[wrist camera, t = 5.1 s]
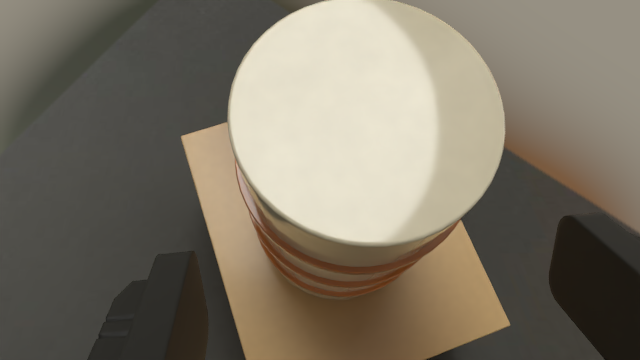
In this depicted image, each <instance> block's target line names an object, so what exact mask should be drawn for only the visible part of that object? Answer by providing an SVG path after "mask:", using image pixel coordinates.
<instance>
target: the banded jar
mask: <svg viewBox="0 0 640 360" xmlns="http://www.w3.org/2000/svg"><path fill="white" fill-rule="evenodd" d="M227 121H228V131H229V138H230V142H231V146H232V150H233V153H234V156H235V169H236V177H237V181H238V185H239V189H240V192H241V194H242V197H243V199H244V202H245V204H246V207H247V209H248V211H249V215H250V218H251V220H252V223H253V225H254V228H255V230H256V232H257V236H258V239H259V241H260V244H261V246H262V248H263V250H264V252H265V254H266V255H267V257H268V259H269V260H270V261H271V262H272V264H273V265H274V266H275V267H276V268H277V270H278V271H279V272H280V274H281V275H282V276H283V277H284V278H285V279H286V280H287V281H288V282H290V283H291V284H292V285H294V286H295V287H296V288H298V289H300V290H302V291H303V292H305V293H308V294H310V295H313V296H316V297H320V298H324V299H332V300H344V299H351V298H356V297H359V296H363V295H365V294H368V293H371V292H374V291H376V290H378V289H381V288H383V287H385V286H386V285H388V284H389V283H391V282H393V281H394V280H395V279H397V278H398V277H399V276H400V275H401V274H402V273H404V272H405V271H406V270H408V269H409V268H411V267H412V266H413V265H414V264H415V263H417V262H418V261H419V260H420V259H421V258H422V257H423V256H425V255H427V254H428V253H430V252H431V251H432V250H434V249H435V248H436V247H437V246H438V245H439V244H441V243H442V242H443V241H444V240H445V239H446V238H447V237H448V236H449V235H450V233H451V232H452V231H453V230H454V229H455V227H456V226H457V224H458V223H459V221H460V220H461V218H462V217H463V216H464V215H465V214H466V213H468V212H469V211H470V210H471V209H472V208H473V207H474V206H475V204H476V203H477V202H478V201H479V200H480V199H481V198H482V196H483V195H484V193H485V192H486V190H487V189H488V187H489V186H490V184H491V183H492V181H493V178H494V176H495V174H496V172H497V169H498V167H499V164H500V160H501V157H502V153H503V148H504V140H505V115H504V109H503V104H502V99H501V96H500V93H499V90H498V86H497V84H496V82H495V80H494V78H493V76H492V73H491V71H490V70H489V68H488V66H487V65H486V63H485V62H484V60H483V58H482V57H481V56H480V55H479V53H478V52H477V51H476V50H475V48H474V47H473V46H472V45H471V44H470V43H469V42H468V41H467V40H466V39H465V38H464V37H463V36H462V35H461V34H460V33H459V32H457V31H456V30H455V29H453V28H452V27H451V26H449V25H448V24H447V23H445V22H444V21H442V20H440V19H438V18H437V17H435V16H433V15H432V14H430V13H427V12H425V11H423V10H421V9H419V8H416V7H413V6H410V5H407V4H404V3H401V2H396V1H392V0H327V1H322V2H319V3H316V4H313V5H310V6H307V7H304V8H302V9H300V10H298V11H296V12H293V13H291V14H289V15H288V16H286V17H285V18H283V19H281V20H280V21H278V22H277V23H275V24H274V25H273V26H272V27H271V28H269V29H268V30H267V31H266V32H264V34H263V35H262V36H261V37H260V38H259V39H258V40H257V41H256V42H255V43H254V44H253V46H252V47H251V48H250V50H249V51H248V53H247V54H246V55H245V57H244V59H243V60H242V62H241V64H240V66H239V68H238V70H237V72H236V75H235V78H234V80H233V83H232V86H231V90H230V95H229V101H228V115H227Z"/></svg>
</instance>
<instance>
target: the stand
mask: <svg viewBox="0 0 640 360" xmlns="http://www.w3.org/2000/svg"><path fill="white" fill-rule="evenodd" d="M181 140H182V143H183V146H184V150H185V153H186V157H187V160H188V164H189V167H190V170H191V174H192V177H193V181H194V184H195V187H196V191H197V194H198V198H199V201H200V205H201V208H202V211H203V215H204V218H205V222H206V225H207V228H208V232H209V235H210V239H211V242H212V246H213V249H214V252H215V256H216V259H217V263H218V266H219V269H220V273H221V276H222V280H223V283H224V287H225V290H226V293H227V297H228V300H229V304H230V307H231V310H232V314H233V317H234V321H235V324H236V328H237V331H238V334H239V338H240V341H241V345H242V348H243V351H244V355H245V358H246V360H426V359H429V358H431V357H433V356H436V355H438V354H441V353H443V352H446V351H448V350H451V349H453V348H456V347H458V346H461V345H463V344H466V343H468V342H471V341H473V340H476V339H478V338H481V337H483V336H486V335H488V334H491V333H493V332H496V331H498V330H500V329H503V328H505V327H508V326H510V323H509V321H508V319H507V316H506V314H505V312H504V310H503V308H502V306H501V304H500V302H499V300H498V297H497V295H496V293H495V291H494V289H493V287H492V285H491V283H490V281H489V278H488V276H487V274H486V272H485V270H484V268H483V266H482V264H481V261H480V259H479V257H478V255H477V253H476V251H475V249H474V247H473V245H472V242H471V240H470V238H469V236H468V234H467V232H466V230H465V228H464V226H463V223H462V221H461V220H460V221H459V223H458V224H457V226H456V227H455V229H454V230H453V231H452V232H451V233H450V235H449V236H448V237H447V238H446V239H445V240H444V241H443V242H442V243H441V244H439V245H438V246H437V247H436V248H435V249H434V250H432V251H431V252H430V253H428V254H427V255H425V256H423V257H422V258H421V259H420V260H419V261H418V262H417V263H415V264H414V265H413V266H412V267H411V268H409V269H408V270H406V271H405V272H404V273H402V274H401V275H400V276H399V277H398V278H397V279H395V280H394V281H393V282H391V283H389V284H388V285H386V286H385V287H383V288H381V289H378V290H376V291H374V292H371V293H368V294H365V295H363V296H359V297H356V298H351V299H344V300H332V299H324V298H320V297H316V296H313V295H310V294H308V293H305V292H303V291H302V290H300V289H298V288H296V287H295V286H294V285H292V284H291V283H290V282H288V281H287V280H286V279H285V278H284V277H283V276H282V275H281V274H280V272H279V271H278V270H277V268H276V267H275V266H274V265H273V264H272V262H271V261H270V260H269V259H268V257H267V255H266V254H265V252H264V250H263V248H262V246H261V244H260V241H259V239H258V236H257V232H256V230H255V228H254V225H253V223H252V220H251V218H250V215H249V211H248V209H247V207H246V204H245V202H244V199H243V197H242V194H241V192H240V189H239V185H238V181H237V177H236V169H235V156H234V153H233V150H232V146H231V142H230V138H229V131H228V122H226V123H223V124H219V125H216V126H213V127H209V128H206V129H203V130H200V131H196V132H193V133H190V134H186V135H183V136H181Z"/></svg>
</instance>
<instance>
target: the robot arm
mask: <svg viewBox="0 0 640 360" xmlns="http://www.w3.org/2000/svg"><path fill="white" fill-rule="evenodd" d="M549 284H550V288H551V292H552V294H553V296H554V298H555V300H556V301H557V303H558V304H559V305H560V306H561V308H562V309H563V310H564V311H565V312H566V314H567V315H568V316H569V317H570V318H571V320H572V321H573V322H574V323H575V324H576V326H577V327H578V328H579V329H580V330H581V331H582V333H583V334H584V335H585V336H586V337H587V339H588V340H589V341H590V342H591V343H592V345H593V346H594V347H595V348H596V349H597V351H598V352H599V353H600V354H601V355H602V357H603V358H604V359H605V360H640V237H637V236H635V235H633V234H631V233H629V232H627V231H626V230H624V229H623V228H622V227H621V226H619V225H618V224H617V223H615V222H614V221H613V220H611V219H610V218H609V217H608V216H606V215H605V214H603V213H589V214H579V215H568V216H564V217H563V218H562V219H561V220H560V222H559V224H558V229H557V234H556V239H555V244H554V250H553V255H552V260H551V266H550V271H549ZM207 341H208V313H207V306H206V301H205V296H204V291H203V286H202V280H201V275H200V270H199V265H198V260H197V256H196V254H195V252H194V251H190V252H179V253H169V254H159V255H157V256H156V258H155V261H154V264H153V266H152V269H151V272H150V274H149V277H148V280H140V281H132V282H131V283H130V284H129V285H128V286H127V287H126V288H125V289H124V290H123V291H122V292H121V293H120V294H119V295H118V296H117V297H116V298H115V299H114V301H113V303H112V306H111V308H110V310H109V312H108V314H107V317H106V322H104V323H103V326H102V328H101V330H100V332H99V338H98V339H96V341H95V344H94V346H93V348H92V350H91V353H90V355H89V357H88V359H87V360H205V354H206V347H207Z"/></svg>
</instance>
